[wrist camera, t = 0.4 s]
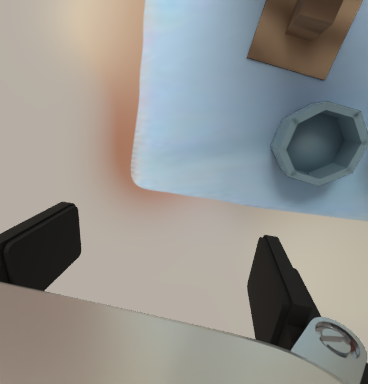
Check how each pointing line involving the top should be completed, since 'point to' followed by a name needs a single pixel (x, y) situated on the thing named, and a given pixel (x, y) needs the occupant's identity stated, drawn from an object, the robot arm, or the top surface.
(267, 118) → the top surface
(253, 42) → the lid
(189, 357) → the robot arm
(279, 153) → the bowl
